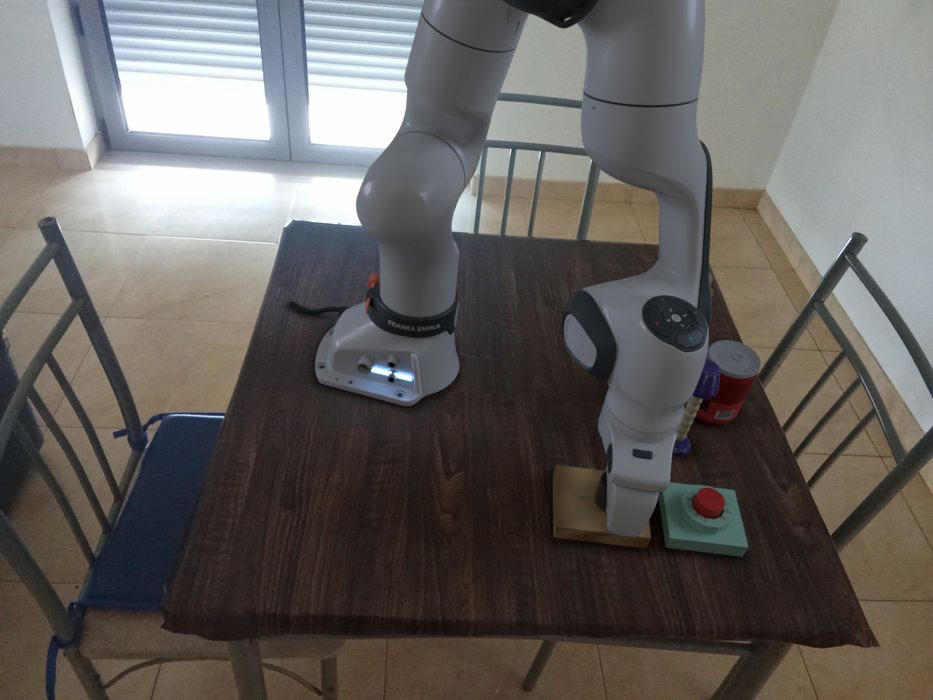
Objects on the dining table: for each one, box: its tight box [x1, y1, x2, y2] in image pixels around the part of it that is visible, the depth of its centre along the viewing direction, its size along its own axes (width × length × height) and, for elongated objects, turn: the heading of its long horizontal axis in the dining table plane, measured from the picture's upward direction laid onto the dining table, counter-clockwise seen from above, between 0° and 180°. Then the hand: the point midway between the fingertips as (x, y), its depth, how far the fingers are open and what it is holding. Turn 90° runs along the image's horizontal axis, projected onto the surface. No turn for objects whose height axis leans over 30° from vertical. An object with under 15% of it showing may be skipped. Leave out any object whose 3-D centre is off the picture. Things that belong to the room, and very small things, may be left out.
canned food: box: [687, 339, 762, 426], centre depth 108 cm, size 8×8×11 cm
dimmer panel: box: [552, 464, 652, 549], centre depth 94 cm, size 12×10×3 cm
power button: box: [693, 488, 725, 518], centre depth 92 cm, size 4×4×2 cm
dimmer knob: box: [594, 470, 607, 512], centre depth 92 cm, size 4×4×4 cm
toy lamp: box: [672, 359, 720, 458], centre depth 99 cm, size 5×5×17 cm
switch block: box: [658, 481, 749, 558], centre depth 94 cm, size 10×9×4 cm
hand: (611, 493), depth 92 cm, fingers closed on dimmer knob, 4 cm apart
